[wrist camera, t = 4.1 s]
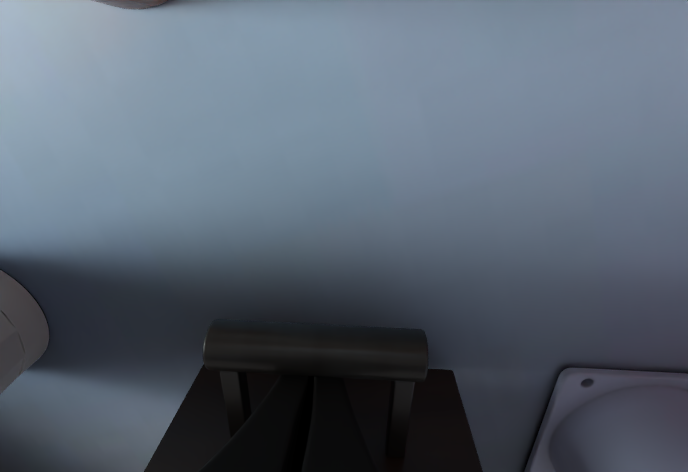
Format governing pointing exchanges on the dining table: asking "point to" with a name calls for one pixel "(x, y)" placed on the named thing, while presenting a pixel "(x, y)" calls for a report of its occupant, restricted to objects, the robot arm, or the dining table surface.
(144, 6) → the orange cylinder puck
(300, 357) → the drawer
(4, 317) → the cup
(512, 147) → the dining table surface
